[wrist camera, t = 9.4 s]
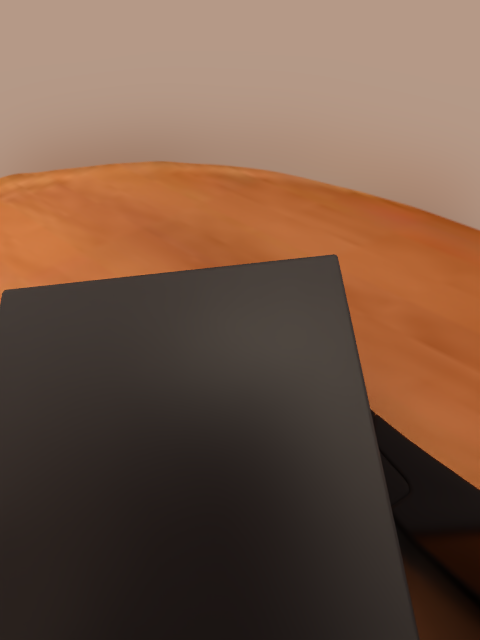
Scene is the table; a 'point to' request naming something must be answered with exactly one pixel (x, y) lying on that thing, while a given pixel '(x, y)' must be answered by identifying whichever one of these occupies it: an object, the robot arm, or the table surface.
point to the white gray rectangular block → (193, 462)
